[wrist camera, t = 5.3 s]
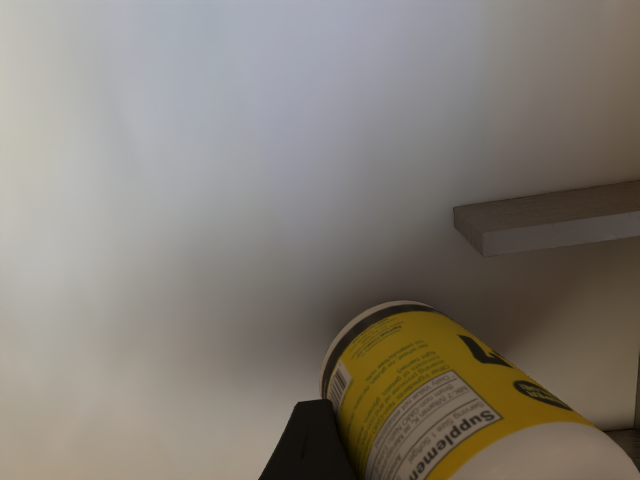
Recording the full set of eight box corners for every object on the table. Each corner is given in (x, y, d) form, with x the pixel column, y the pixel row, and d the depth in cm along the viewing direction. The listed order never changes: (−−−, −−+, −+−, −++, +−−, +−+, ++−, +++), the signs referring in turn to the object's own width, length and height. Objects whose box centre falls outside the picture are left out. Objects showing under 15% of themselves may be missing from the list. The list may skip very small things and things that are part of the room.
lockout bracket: (676, 174, 12) (763, 193, 9) (651, 441, 15) (713, 507, 12) (453, 207, 12) (482, 233, 10) (470, 460, 15) (495, 527, 13)
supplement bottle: (482, 363, 14) (834, 656, 6) (375, 460, 14) (604, 887, 6) (406, 263, 12) (764, 497, 5) (282, 371, 12) (437, 809, 4)
